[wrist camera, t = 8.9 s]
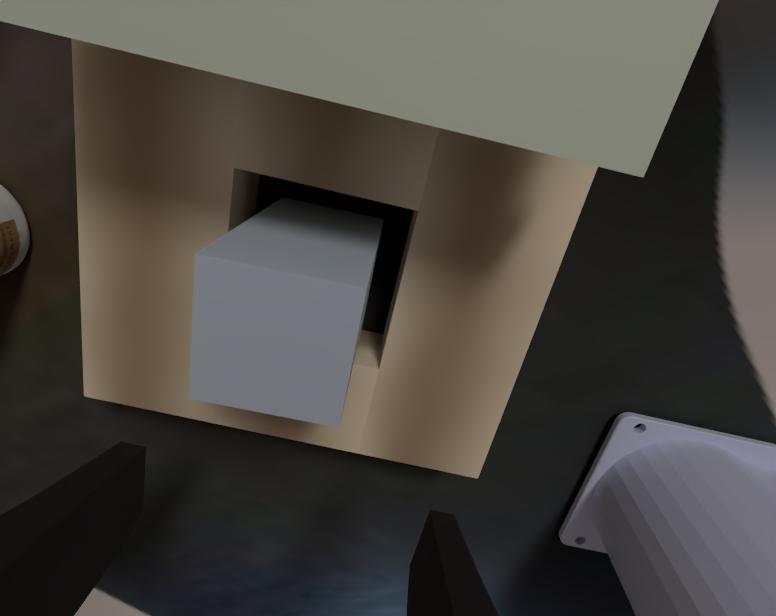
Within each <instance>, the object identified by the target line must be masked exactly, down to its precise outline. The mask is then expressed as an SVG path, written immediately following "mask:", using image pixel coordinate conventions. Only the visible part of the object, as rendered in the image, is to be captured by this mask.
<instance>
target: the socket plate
mask: <svg viewBox="0 0 776 616" xmlns="http://www.w3.org/2000/svg"><path fill="white" fill-rule="evenodd" d="M72 63H73V92H74V121H75V149H76V178H77V207H78V236H79V265H80V293H81V322H82V351H83V380H84V396H85V397H90V398H95V399H100V400H105V401H109V402H114V403H119V404H124V405H128V406H133V407H138V408H143V409H148V410H152V411H157V412H162V413H167V414H171V415H176V416H181V417H186V418H191V419H195V420H200V421H205V422H210V423H214V424H219V425H224V426H229V427H234V428H238V429H243V430H248V431H253V432H257V433H262V434H267V435H272V436H277V437H281V438H286V439H291V440H296V441H301V442H305V443H310V444H315V445H320V446H324V447H329V448H334V449H339V450H344V451H348V452H353V453H358V454H363V455H367V456H372V457H377V458H382V459H387V460H391V461H396V462H401V463H406V464H410V465H415V466H420V467H425V468H430V469H434V470H439V471H444V472H449V473H453V474H458V475H463V476H468V477H473V478H477V479H478V477H479V474H480V472H481V469H482V466H483V464H484V461H485V459H486V456H487V453H488V451H489V448H490V446H491V443H492V440H493V438H494V435H495V433H496V430H497V427H498V425H499V422H500V420H501V417H502V414H503V412H504V409H505V407H506V404H507V401H508V399H509V396H510V394H511V391H512V388H513V386H514V383H515V381H516V378H517V376H518V373H519V370H520V368H521V365H522V363H523V360H524V357H525V355H526V352H527V350H528V347H529V344H530V342H531V339H532V337H533V334H534V331H535V329H536V326H537V324H538V321H539V318H540V316H541V313H542V311H543V308H544V305H545V303H546V300H547V298H548V295H549V292H550V290H551V287H552V285H553V282H554V279H555V277H556V274H557V272H558V269H559V266H560V264H561V261H562V259H563V256H564V253H565V251H566V248H567V246H568V243H569V240H570V238H571V235H572V233H573V230H574V227H575V225H576V222H577V220H578V217H579V214H580V212H581V209H582V207H583V204H584V201H585V199H586V196H587V194H588V191H589V188H590V186H591V183H592V181H593V178H594V176H595V173H596V170H597V168H598V166H594V165H590V164H586V163H582V162H578V161H574V160H569V159H565V158H561V157H557V156H553V155H549V154H545V153H541V152H537V151H533V150H528V149H524V148H520V147H516V146H512V145H508V144H504V143H500V142H496V141H491V140H487V139H483V138H479V137H475V136H471V135H467V134H463V133H459V132H454V131H450V130H446V129H442V128H438V127H434V126H430V125H426V124H422V123H417V122H413V121H409V120H405V119H401V118H397V117H393V116H389V115H385V114H381V113H376V112H372V111H368V110H364V109H360V108H356V107H352V106H348V105H344V104H339V103H335V102H331V101H327V100H323V99H319V98H315V97H311V96H307V95H302V94H298V93H294V92H290V91H286V90H282V89H278V88H274V87H270V86H265V85H261V84H257V83H253V82H249V81H245V80H241V79H237V78H233V77H229V76H224V75H220V74H216V73H212V72H208V71H204V70H200V69H196V68H192V67H187V66H183V65H179V64H175V63H171V62H167V61H163V60H159V59H155V58H150V57H146V56H142V55H138V54H134V53H130V52H126V51H122V50H118V49H113V48H109V47H105V46H101V45H97V44H93V43H89V42H85V41H81V40H77V39H72ZM260 174H263V175H267V176H271V177H275V178H280V179H284V180H288V181H293V182H297V183H301V184H305V185H310V186H314V187H318V188H322V189H327V190H331V191H335V192H339V193H344V194H348V195H352V196H356V197H361V198H365V199H369V200H374V201H378V202H382V203H386V204H391V205H395V206H399V207H403V208H408V209H412V210H414V211H413V215H412V219H411V223H410V227H409V231H408V235H407V240H406V244H405V248H404V252H403V256H402V260H401V264H400V268H399V272H398V276H397V280H396V284H395V288H394V293H393V297H392V301H391V305H390V309H389V313H388V317H387V321H386V325H385V329H384V333H383V334H379V333H375V332H370V331H366V330H361V334H360V338H359V343H358V347H357V351H356V356H355V360H354V365H353V369H352V374H351V378H350V382H349V387H348V391H347V396H346V400H345V405H344V409H343V413H342V418H341V422H340V427H339V428H338V427H332V426H327V425H322V424H317V423H312V422H307V421H302V420H296V419H291V418H286V417H281V416H276V415H271V414H265V413H260V412H255V411H250V410H245V409H240V408H235V407H229V406H224V405H219V404H214V403H209V402H204V401H198V400H193V399H189V380H190V357H191V334H192V312H193V289H194V267H195V253H196V252H198V251H200V250H201V249H203V248H204V247H206V246H207V245H209V244H211V243H212V242H214V241H215V240H217V239H218V238H220V237H222V236H223V235H225V234H226V233H228V232H229V231H231V230H233V229H234V228H236V227H237V226H239V225H240V224H242V223H244V222H245V221H247V220H248V219H250V218H251V217H253V216H255V215H256V206H257V197H258V188H259V179H260Z"/></svg>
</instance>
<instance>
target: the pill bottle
mask: <svg viewBox="0 0 776 616" xmlns="http://www.w3.org/2000/svg"><path fill="white" fill-rule="evenodd" d="M29 244H30V233H29V227H28V222H27V219H26V217H25V214H24V212H23V210H22V208H21V206H20V205H19V204H18V202H17V201H16V200H15V198H14V197H13V196H12V195H11V194H10V193H9V192H8V191H7V190H6V189H5V188H4V187H3V186H2V185H0V275H3V274H6V273H8V272H10V271H12V270H13V269H15V268H16V267H17V266H18V265H19V264H20V263H21V262H22V261H23V259H24V258H25V256H26V254H27V251H28V248H29Z"/></svg>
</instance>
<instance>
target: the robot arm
mask: <svg viewBox="0 0 776 616" xmlns="http://www.w3.org/2000/svg"><path fill="white" fill-rule="evenodd" d="M638 424H641V426H640V427H638V428H634V427H635V426H636V425H638ZM145 453H146V447H143V446H138V445H134V444H129V443H125V442H120V443H118V444H116V445H115V446H113V447H111V448H110V449H108V450H107V451H105V452H103V453H102V454H100V455H99V456H97V457H96V458H94V459H92V460H91V461H89V462H88V463H86V464H85V465H83V466H81V467H80V468H78V469H77V470H75V471H74V472H72V473H70V474H69V475H67V476H66V477H64V478H62V479H61V480H59V481H58V482H56V483H54V484H53V485H51V486H49V487H48V488H46V489H44V490H43V491H41V492H39V493H38V494H36V495H35V496H33V497H31V498H30V499H28V500H26V501H25V502H23V503H21V504H19V505H18V506H16V507H14V508H12V509H11V510H9V511H7V512H5V513H3V514H2V515H0V616H74V615H75V613H76V612H77V611H78V609H79V608H80V606H81V605H82V604H83V602H84V601H85V599H86V598H87V596H88V595H89V594H90V592H91V591H92V589H93V588H94V587H95V585H96V584H97V582H98V581H99V580H100V578H101V577H102V575H103V574H104V572H105V571H106V570H107V568H108V567H109V565H110V564H111V562H112V561H113V560H114V558H115V557H116V555H117V554H118V552H119V551H120V549H121V548H122V546H123V544H124V542H125V541H126V539H127V537H128V535H129V534H130V532H131V530H132V528H133V526H134V524H135V523H136V521H137V519H138V517H139V515H140V513H141V511H142V510H143V497H144V475H145ZM559 537H560V540H561V542H562V543H563V544H565V545H569V546H574V547H579V548H583V549H588V550H593V551H598V552H603V553H608V555H609V558H610V560H611V562H612V564H613V567H614V569H615V571H616V573H617V575H618V578H619V580H620V582H621V584H622V586H623V589H624V591H625V593H626V595H627V597H628V600H629V602H630V604H631V606H632V608H633V611H634V613H635V615H636V616H776V444H772V443H768V442H763V441H759V440H754V439H749V438H745V437H740V436H736V435H731V434H727V433H722V432H718V431H713V430H708V429H704V428H699V427H695V426H690V425H686V424H681V423H676V422H672V421H667V420H663V419H658V418H654V417H649V416H645V415H640V414H635V413H631V412H625V413H621V414H620V415H618V416H617V417H616V419H615V421H614V423H613V425H612V427H611V429H610V431H609V433H608V435H607V437H606V439H605V441H604V443H603V445H602V447H601V449H600V451H599V453H598V455H597V457H596V459H595V461H594V462H593V464H592V466H591V468H590V470H589V472H588V474H587V476H586V478H585V480H584V482H583V484H582V486H581V488H580V490H579V492H578V494H577V496H576V498H575V500H574V502H573V504H572V506H571V508H570V510H569V512H568V514H567V516H566V518H565V520H564V522H563V524H562V526H561V528H560V530H559ZM578 537H580V538H578ZM407 616H499V615H498V613H497V611H496V609H495V607H494V605H493V603H492V600H491V598H490V596H489V594H488V592H487V590H486V588H485V586H484V584H483V581H482V579H481V577H480V575H479V573H478V570H477V568H476V566H475V563H474V561H473V559H472V556H471V554H470V552H469V549H468V547H467V544H466V542H465V540H464V537H463V535H462V532H461V529H460V527H459V524H458V522H457V519H456V517H455V516H454V515H453V514H448V513H444V512H439V511H435V510H430V512H429V515H428V517H427V520H426V523H425V526H424V528H423V531H422V534H421V537H420V539H419V542H418V545H417V548H416V550H415V553H414V556H413V559H412V561H411V564H410V571H409V585H408V601H407Z"/></svg>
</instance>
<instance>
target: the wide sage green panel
mask: <svg viewBox="0 0 776 616" xmlns="http://www.w3.org/2000/svg"><path fill="white" fill-rule="evenodd" d="M718 1H719V0H0V21H3V22H7V23H11V24H15V25H19V26H23V27H27V28H31V29H35V30H40V31H44V32H48V33H52V34H56V35H60V36H64V37H68V38H72V39H77V40H81V41H85V42H89V43H93V44H97V45H101V46H105V47H109V48H113V49H118V50H122V51H126V52H130V53H134V54H138V55H142V56H146V57H150V58H155V59H159V60H163V61H167V62H171V63H175V64H179V65H183V66H187V67H192V68H196V69H200V70H204V71H208V72H212V73H216V74H220V75H224V76H229V77H233V78H237V79H241V80H245V81H249V82H253V83H257V84H261V85H265V86H270V87H274V88H278V89H282V90H286V91H290V92H294V93H298V94H302V95H307V96H311V97H315V98H319V99H323V100H327V101H331V102H335V103H339V104H344V105H348V106H352V107H356V108H360V109H364V110H368V111H372V112H376V113H381V114H385V115H389V116H393V117H397V118H401V119H405V120H409V121H413V122H417V123H422V124H426V125H430V126H434V127H438V128H442V129H446V130H450V131H454V132H459V133H463V134H467V135H471V136H475V137H479V138H483V139H487V140H491V141H496V142H500V143H504V144H508V145H512V146H516V147H520V148H524V149H528V150H533V151H537V152H541V153H545V154H549V155H553V156H557V157H561V158H565V159H569V160H574V161H578V162H582V163H586V164H590V165H594V166H598V167H602V168H606V169H611V170H615V171H619V172H623V173H627V174H631V175H635V176H639V177H644V175H645V172H646V170H647V168H648V165H649V163H650V161H651V158H652V156H653V154H654V151H655V149H656V146H657V144H658V142H659V139H660V137H661V135H662V132H663V130H664V128H665V125H666V123H667V121H668V118H669V116H670V114H671V111H672V109H673V106H674V104H675V102H676V99H677V97H678V95H679V92H680V90H681V88H682V85H683V83H684V81H685V78H686V76H687V74H688V71H689V69H690V66H691V64H692V62H693V59H694V57H695V55H696V52H697V50H698V48H699V45H700V43H701V41H702V38H703V36H704V34H705V31H706V29H707V27H708V24H709V22H710V19H711V17H712V15H713V12H714V10H715V8H716V5H717V3H718Z"/></svg>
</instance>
